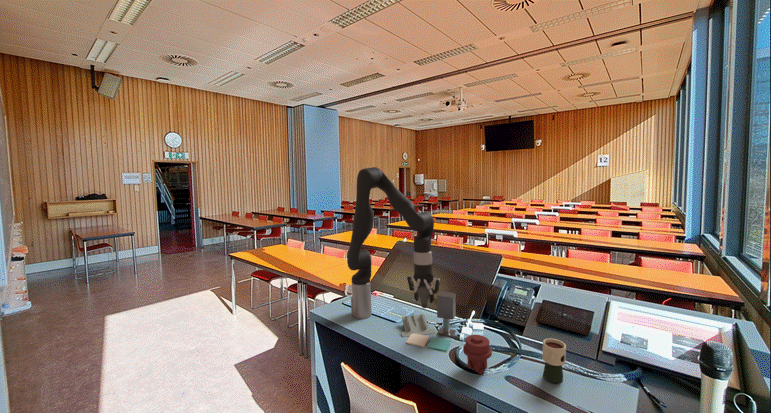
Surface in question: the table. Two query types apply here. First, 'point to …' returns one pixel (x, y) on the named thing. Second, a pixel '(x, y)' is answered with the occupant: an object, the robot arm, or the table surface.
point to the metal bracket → (416, 326)
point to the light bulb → (423, 295)
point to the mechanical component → (477, 352)
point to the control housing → (446, 312)
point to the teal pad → (439, 344)
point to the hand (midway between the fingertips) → (424, 301)
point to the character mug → (554, 359)
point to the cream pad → (417, 339)
